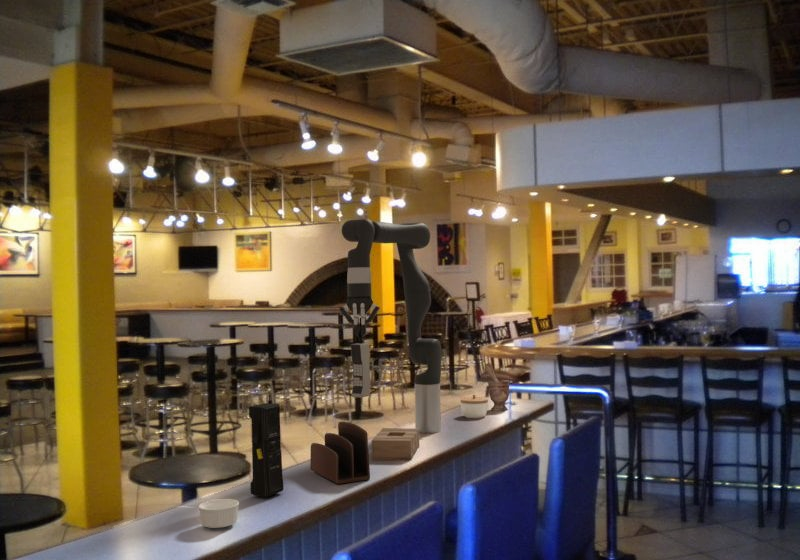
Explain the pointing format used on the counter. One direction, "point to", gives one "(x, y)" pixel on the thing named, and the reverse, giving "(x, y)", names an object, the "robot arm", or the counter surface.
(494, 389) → the mortar and pestle
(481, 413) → the lidded jar
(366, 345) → the vintage mobile phone
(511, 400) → the counter surface
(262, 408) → the portable radio
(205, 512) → the ramekin
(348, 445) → the letter holder
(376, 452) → the walnut dock rack
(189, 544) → the counter surface
